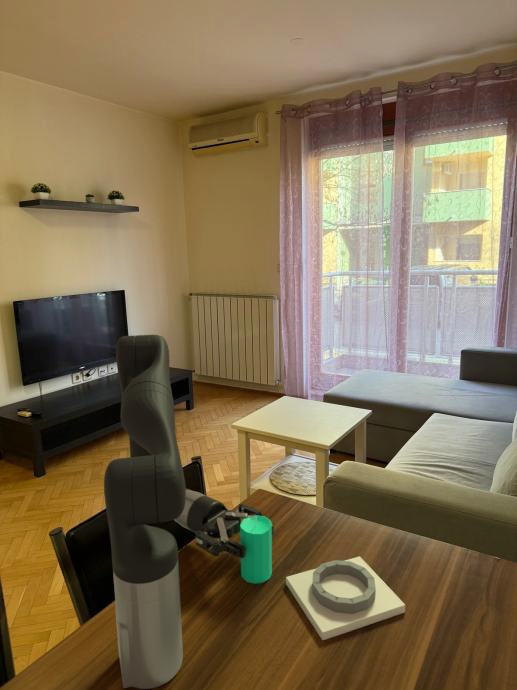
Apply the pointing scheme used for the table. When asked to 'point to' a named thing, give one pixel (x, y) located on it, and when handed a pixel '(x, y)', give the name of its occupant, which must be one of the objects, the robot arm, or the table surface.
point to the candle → (256, 549)
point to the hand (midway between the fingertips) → (259, 541)
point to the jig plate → (343, 596)
